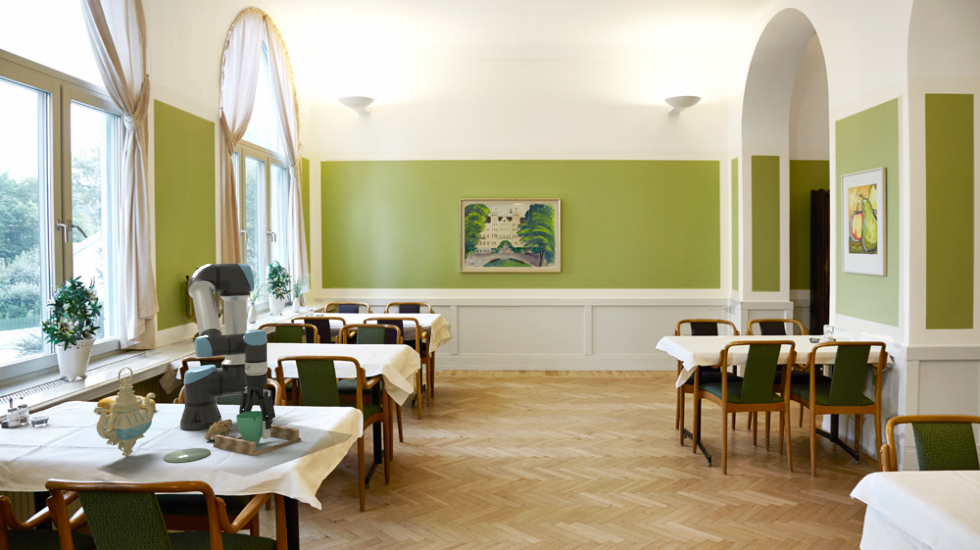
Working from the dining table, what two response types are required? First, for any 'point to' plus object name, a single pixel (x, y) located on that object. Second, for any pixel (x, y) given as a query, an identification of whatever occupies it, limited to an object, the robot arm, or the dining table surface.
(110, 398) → the bread
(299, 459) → the dining table surface
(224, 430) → the seashell
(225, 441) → the oak frame
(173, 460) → the coaster
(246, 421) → the mug
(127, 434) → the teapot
